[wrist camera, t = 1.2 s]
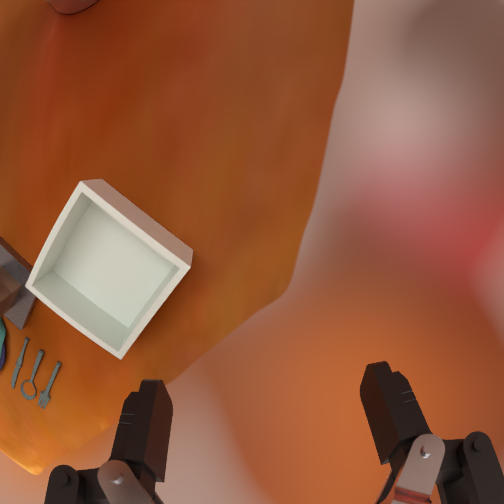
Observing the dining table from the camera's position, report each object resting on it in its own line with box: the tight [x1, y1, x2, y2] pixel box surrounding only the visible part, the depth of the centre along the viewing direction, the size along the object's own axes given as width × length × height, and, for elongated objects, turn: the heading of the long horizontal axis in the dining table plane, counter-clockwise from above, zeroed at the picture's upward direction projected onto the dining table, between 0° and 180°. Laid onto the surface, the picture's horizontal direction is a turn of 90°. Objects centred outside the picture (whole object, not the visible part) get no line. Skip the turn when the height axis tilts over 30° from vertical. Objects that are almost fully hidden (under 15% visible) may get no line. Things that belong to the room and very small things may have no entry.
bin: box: [25, 179, 193, 359], centre depth 33 cm, size 15×15×7 cm
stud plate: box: [0, 237, 38, 330], centre depth 32 cm, size 10×10×5 cm
